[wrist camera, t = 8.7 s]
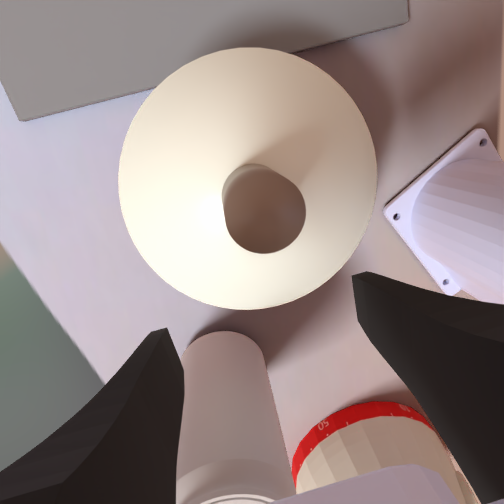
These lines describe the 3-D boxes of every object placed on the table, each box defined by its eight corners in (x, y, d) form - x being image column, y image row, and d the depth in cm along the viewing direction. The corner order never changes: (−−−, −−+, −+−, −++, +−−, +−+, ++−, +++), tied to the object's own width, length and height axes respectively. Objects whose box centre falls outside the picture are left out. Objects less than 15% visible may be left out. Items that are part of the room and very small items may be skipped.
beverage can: (162, 353, 24) (122, 541, 13) (235, 310, 24) (258, 467, 13) (210, 405, 27) (210, 604, 15) (277, 367, 26) (328, 544, 15)
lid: (414, 196, 18) (479, 217, 14) (246, 341, 20) (255, 400, 16) (259, -21, 14) (282, -92, 10) (65, 190, 16) (10, 213, 12)
